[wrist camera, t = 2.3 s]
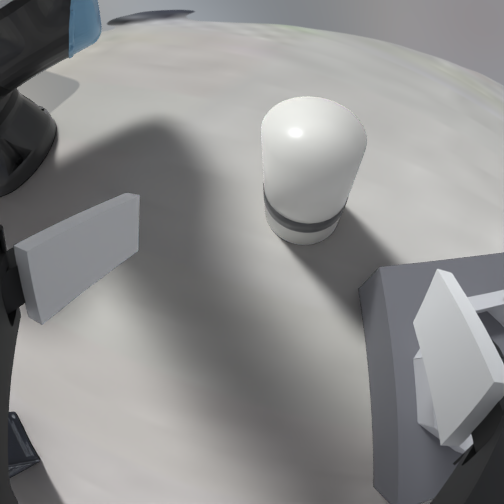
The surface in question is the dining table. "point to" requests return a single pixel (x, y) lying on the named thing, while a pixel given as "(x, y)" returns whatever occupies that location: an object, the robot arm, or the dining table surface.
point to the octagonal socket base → (416, 371)
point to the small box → (18, 447)
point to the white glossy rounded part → (309, 166)
